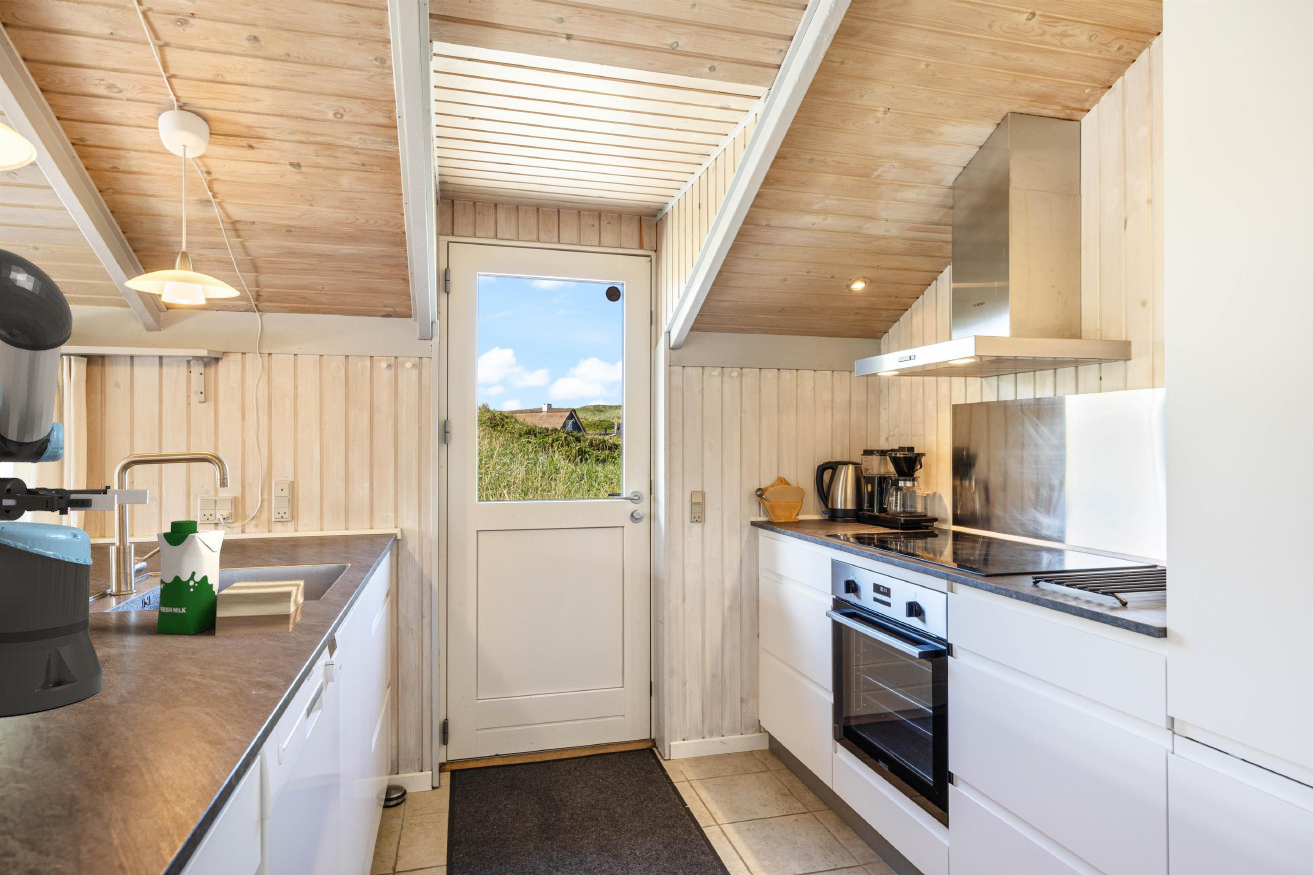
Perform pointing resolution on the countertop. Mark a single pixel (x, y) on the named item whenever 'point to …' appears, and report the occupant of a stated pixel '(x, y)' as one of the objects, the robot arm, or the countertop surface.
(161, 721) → the countertop surface
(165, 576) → the fresh milk carton
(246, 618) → the block lower
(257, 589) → the block upper
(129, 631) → the countertop surface
